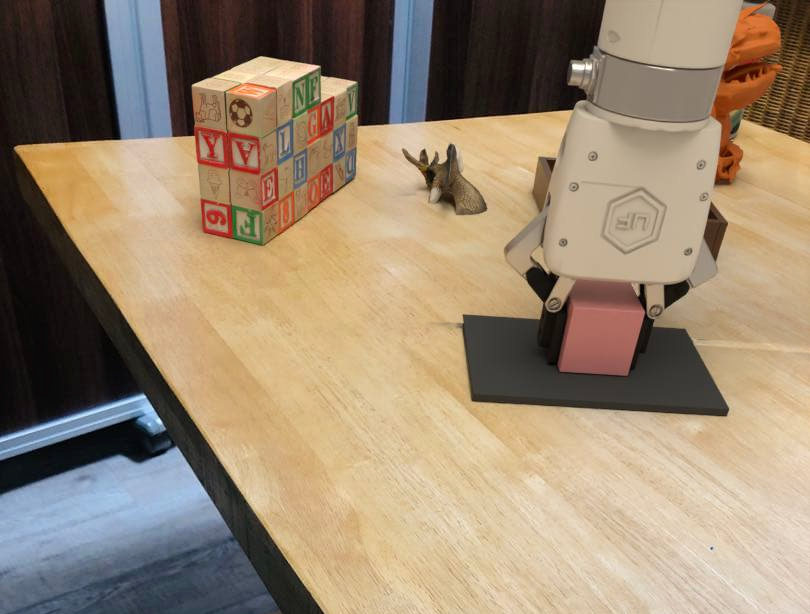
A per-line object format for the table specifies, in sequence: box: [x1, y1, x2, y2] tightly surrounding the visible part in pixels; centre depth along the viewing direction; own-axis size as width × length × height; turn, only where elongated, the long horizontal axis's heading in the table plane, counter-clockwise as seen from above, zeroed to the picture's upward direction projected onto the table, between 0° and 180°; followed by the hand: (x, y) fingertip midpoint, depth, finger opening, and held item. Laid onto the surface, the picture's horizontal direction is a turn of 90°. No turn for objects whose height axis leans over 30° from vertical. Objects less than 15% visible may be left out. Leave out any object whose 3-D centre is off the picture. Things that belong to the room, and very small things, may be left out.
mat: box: [461, 313, 730, 417], centre depth 64 cm, size 18×12×1 cm, turn 91°
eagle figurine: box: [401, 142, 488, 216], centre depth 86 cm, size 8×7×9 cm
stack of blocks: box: [191, 56, 359, 246], centre depth 81 cm, size 21×6×12 cm, turn 160°
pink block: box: [557, 279, 645, 376], centre depth 62 cm, size 5×5×5 cm
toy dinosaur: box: [710, 2, 784, 184], centre depth 95 cm, size 11×11×18 cm
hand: (588, 355), depth 64 cm, fingers closed on pink block, 5 cm apart
